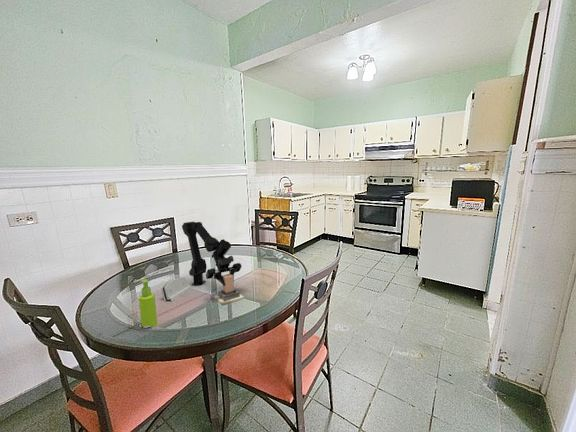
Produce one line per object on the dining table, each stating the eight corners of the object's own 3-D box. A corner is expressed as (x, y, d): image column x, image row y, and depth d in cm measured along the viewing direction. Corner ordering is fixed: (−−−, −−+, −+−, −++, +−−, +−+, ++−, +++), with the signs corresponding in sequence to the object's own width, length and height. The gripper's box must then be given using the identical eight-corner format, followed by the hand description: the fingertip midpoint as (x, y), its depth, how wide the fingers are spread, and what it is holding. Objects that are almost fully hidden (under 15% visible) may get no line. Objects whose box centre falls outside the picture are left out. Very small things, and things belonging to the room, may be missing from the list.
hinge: (171, 301, 131) (164, 284, 131) (164, 303, 132) (158, 286, 132) (191, 289, 147) (185, 273, 147) (185, 291, 148) (179, 275, 148)
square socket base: (214, 297, 134) (213, 291, 134) (234, 291, 141) (234, 285, 141) (222, 305, 124) (221, 298, 124) (244, 298, 131) (243, 292, 131)
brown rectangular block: (223, 295, 133) (222, 275, 132) (230, 293, 136) (229, 273, 135) (226, 298, 130) (225, 277, 128) (234, 295, 132) (233, 275, 131)
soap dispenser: (151, 319, 113) (147, 276, 111) (159, 323, 109) (155, 279, 107) (138, 325, 108) (133, 281, 106) (145, 330, 104) (141, 284, 102)
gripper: (206, 254, 128) (214, 281, 120) (239, 248, 139) (249, 272, 131) (202, 265, 135) (210, 291, 127) (234, 259, 146) (243, 282, 138)
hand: (229, 284), depth 131 cm, fingers closed on brown rectangular block, 4 cm apart
